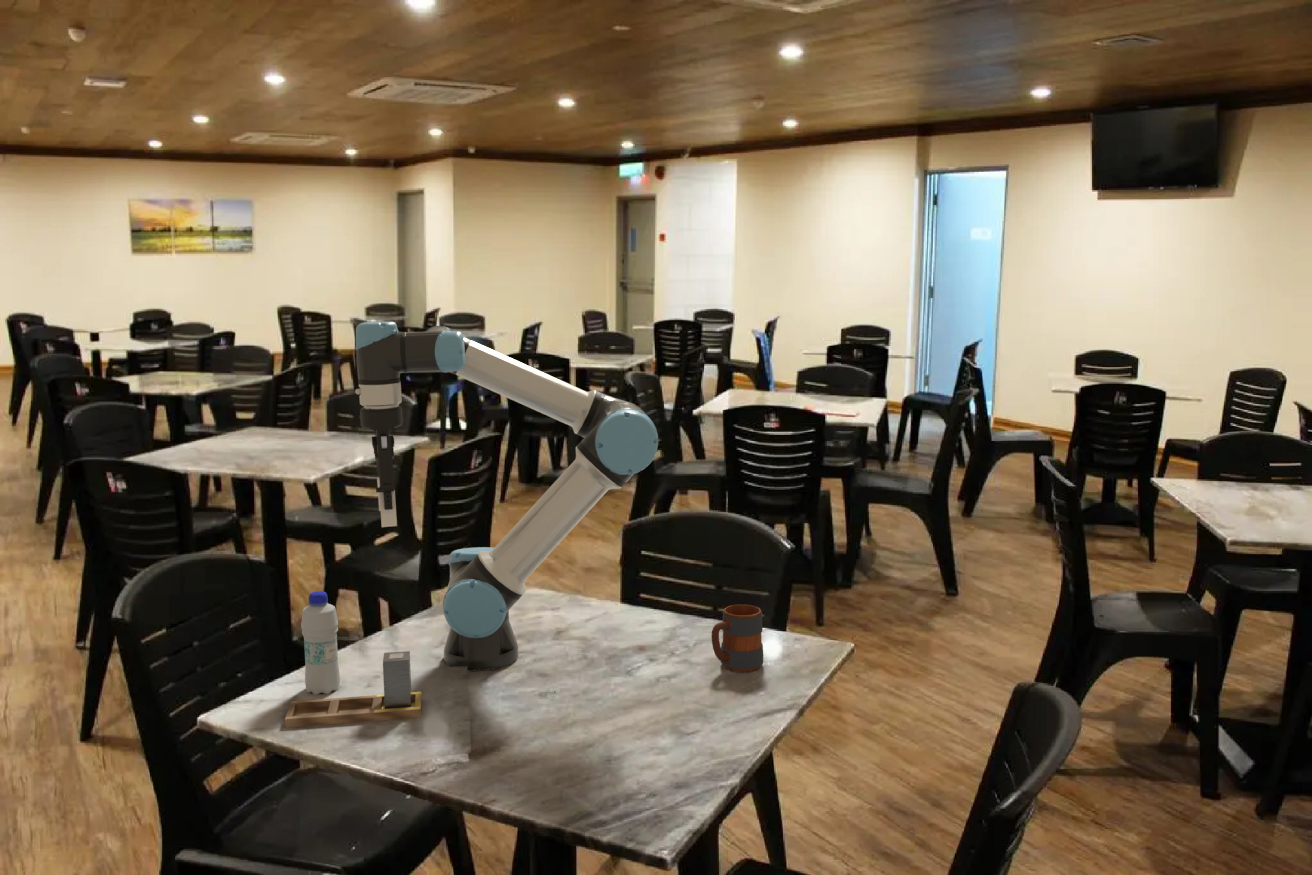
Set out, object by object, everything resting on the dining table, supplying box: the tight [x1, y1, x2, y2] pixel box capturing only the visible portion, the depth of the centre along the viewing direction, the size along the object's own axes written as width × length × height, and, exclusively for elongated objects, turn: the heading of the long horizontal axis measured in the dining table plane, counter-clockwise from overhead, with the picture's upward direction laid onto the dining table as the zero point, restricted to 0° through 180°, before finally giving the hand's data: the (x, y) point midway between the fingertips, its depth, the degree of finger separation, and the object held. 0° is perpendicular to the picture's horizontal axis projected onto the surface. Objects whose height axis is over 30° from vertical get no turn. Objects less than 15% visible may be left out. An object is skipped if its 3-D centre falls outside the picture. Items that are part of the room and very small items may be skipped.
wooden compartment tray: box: [284, 691, 423, 728], centre depth 198 cm, size 23×8×3 cm, turn 101°
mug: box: [711, 604, 764, 674], centre depth 221 cm, size 9×12×12 cm
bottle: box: [300, 590, 341, 696], centre depth 208 cm, size 7×7×20 cm
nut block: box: [382, 650, 412, 709], centre depth 198 cm, size 4×4×10 cm
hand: (387, 518), depth 208 cm, fingers open, 13 cm apart
